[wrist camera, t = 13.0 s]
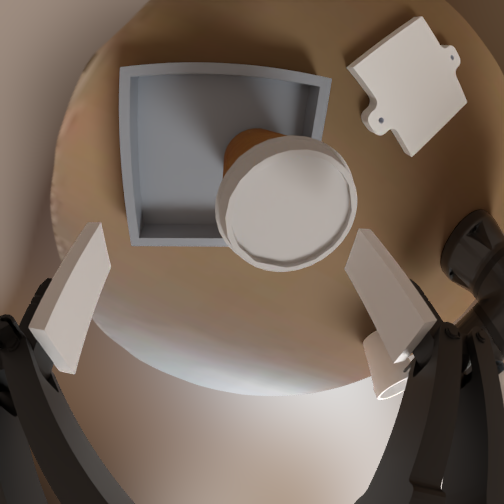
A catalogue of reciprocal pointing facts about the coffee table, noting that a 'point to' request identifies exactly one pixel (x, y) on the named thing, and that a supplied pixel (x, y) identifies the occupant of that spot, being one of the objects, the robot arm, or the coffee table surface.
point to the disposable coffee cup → (283, 199)
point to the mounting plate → (409, 85)
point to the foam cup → (384, 368)
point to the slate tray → (199, 138)
